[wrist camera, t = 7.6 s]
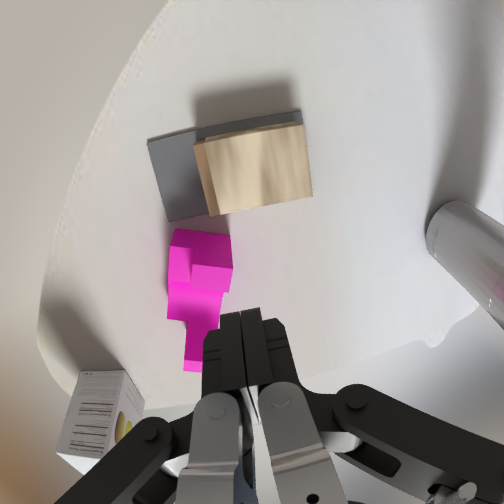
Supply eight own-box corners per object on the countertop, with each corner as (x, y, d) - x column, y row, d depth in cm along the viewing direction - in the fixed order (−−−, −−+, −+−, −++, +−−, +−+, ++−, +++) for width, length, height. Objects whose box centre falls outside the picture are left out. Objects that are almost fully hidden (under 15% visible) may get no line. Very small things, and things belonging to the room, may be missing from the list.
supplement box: (146, 402, 49) (136, 484, 34) (102, 402, 48) (86, 478, 34) (125, 368, 44) (106, 460, 29) (79, 369, 44) (53, 452, 29)
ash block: (196, 140, 29) (293, 121, 30) (211, 203, 33) (302, 185, 33) (192, 145, 26) (303, 125, 26) (210, 216, 29) (312, 196, 29)
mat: (300, 111, 29) (301, 111, 29) (311, 191, 34) (312, 192, 33) (147, 142, 29) (146, 143, 29) (169, 220, 34) (168, 221, 33)
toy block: (175, 227, 34) (165, 261, 28) (230, 234, 35) (233, 269, 29) (169, 327, 41) (162, 368, 34) (213, 332, 42) (214, 373, 36)
